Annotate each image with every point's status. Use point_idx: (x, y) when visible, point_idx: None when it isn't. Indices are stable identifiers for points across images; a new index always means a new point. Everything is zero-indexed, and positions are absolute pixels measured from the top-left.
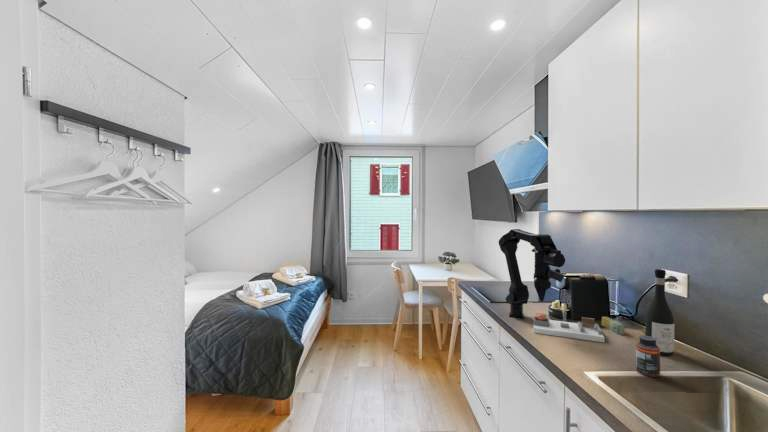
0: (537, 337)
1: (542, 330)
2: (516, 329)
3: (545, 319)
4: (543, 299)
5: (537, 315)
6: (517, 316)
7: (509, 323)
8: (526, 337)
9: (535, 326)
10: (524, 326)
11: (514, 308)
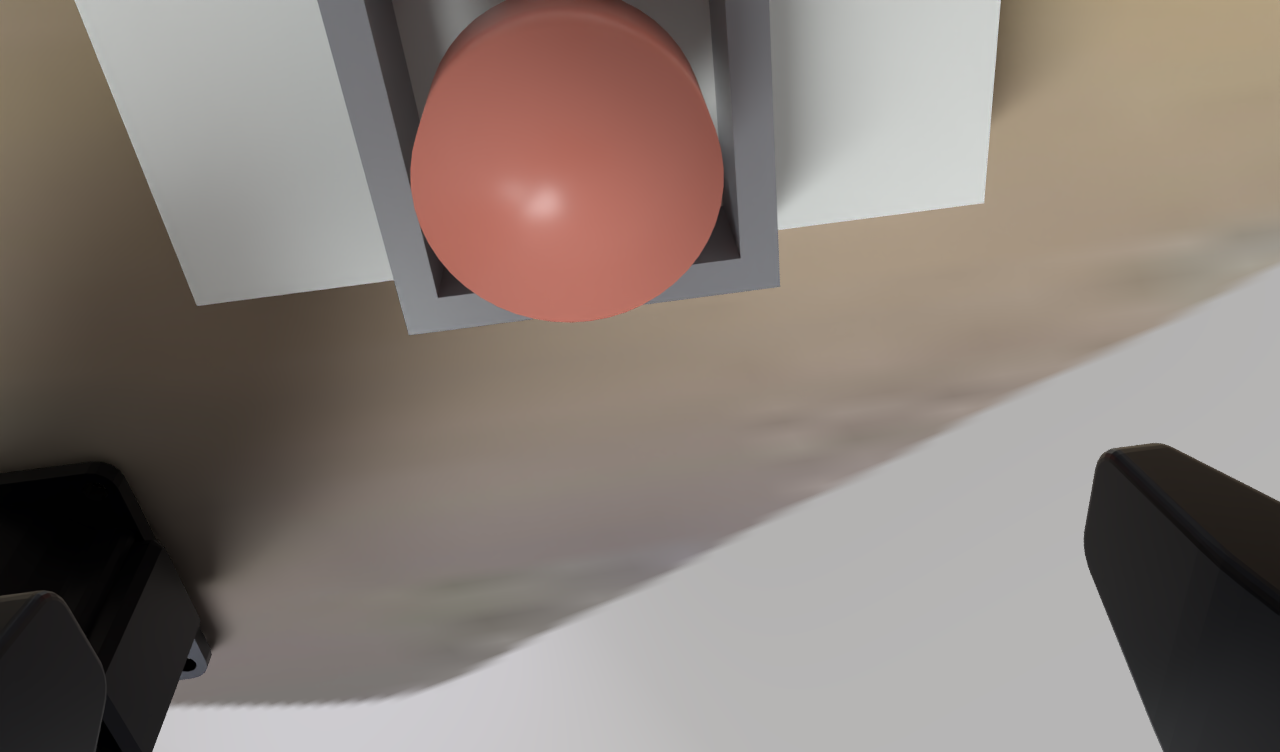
0: (1213, 61)
1: (989, 6)
2: (876, 447)
3: (642, 17)
4: (1263, 503)
5: (677, 273)
6: (172, 566)
7: (601, 584)
8: (1259, 245)
9: (860, 186)
10: (630, 364)
11: (144, 744)
